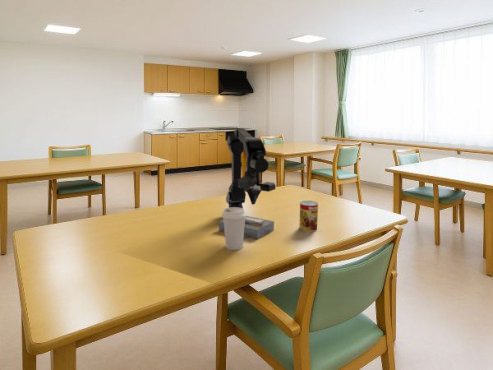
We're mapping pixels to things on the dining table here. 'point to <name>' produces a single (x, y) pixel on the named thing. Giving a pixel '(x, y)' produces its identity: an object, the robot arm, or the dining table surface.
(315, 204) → the canned food
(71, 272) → the dining table surface
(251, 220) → the steel strap
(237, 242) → the coffee cup
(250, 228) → the silver metal tray
